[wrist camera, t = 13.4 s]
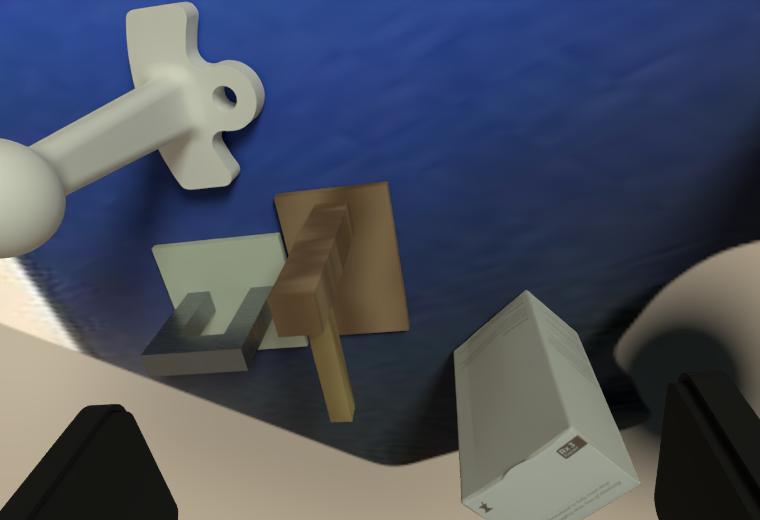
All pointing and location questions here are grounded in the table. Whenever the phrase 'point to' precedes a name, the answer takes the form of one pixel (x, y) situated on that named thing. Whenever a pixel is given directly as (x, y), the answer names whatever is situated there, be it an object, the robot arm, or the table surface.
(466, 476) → the skincare box
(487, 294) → the table surface
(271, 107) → the table surface
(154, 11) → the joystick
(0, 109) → the table surface
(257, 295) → the grey u-shaped block
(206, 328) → the mat
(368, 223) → the stand
